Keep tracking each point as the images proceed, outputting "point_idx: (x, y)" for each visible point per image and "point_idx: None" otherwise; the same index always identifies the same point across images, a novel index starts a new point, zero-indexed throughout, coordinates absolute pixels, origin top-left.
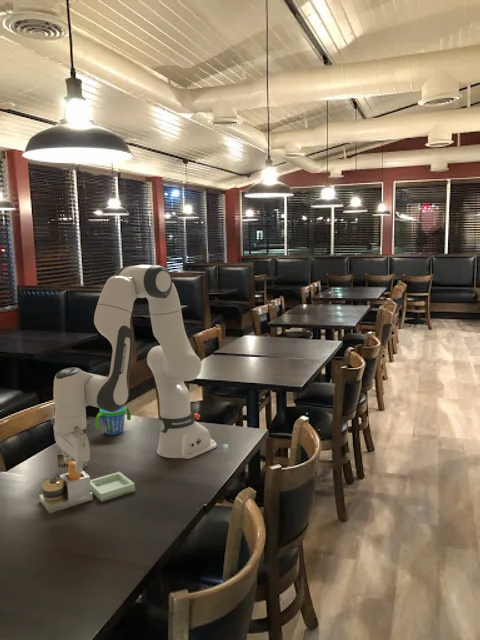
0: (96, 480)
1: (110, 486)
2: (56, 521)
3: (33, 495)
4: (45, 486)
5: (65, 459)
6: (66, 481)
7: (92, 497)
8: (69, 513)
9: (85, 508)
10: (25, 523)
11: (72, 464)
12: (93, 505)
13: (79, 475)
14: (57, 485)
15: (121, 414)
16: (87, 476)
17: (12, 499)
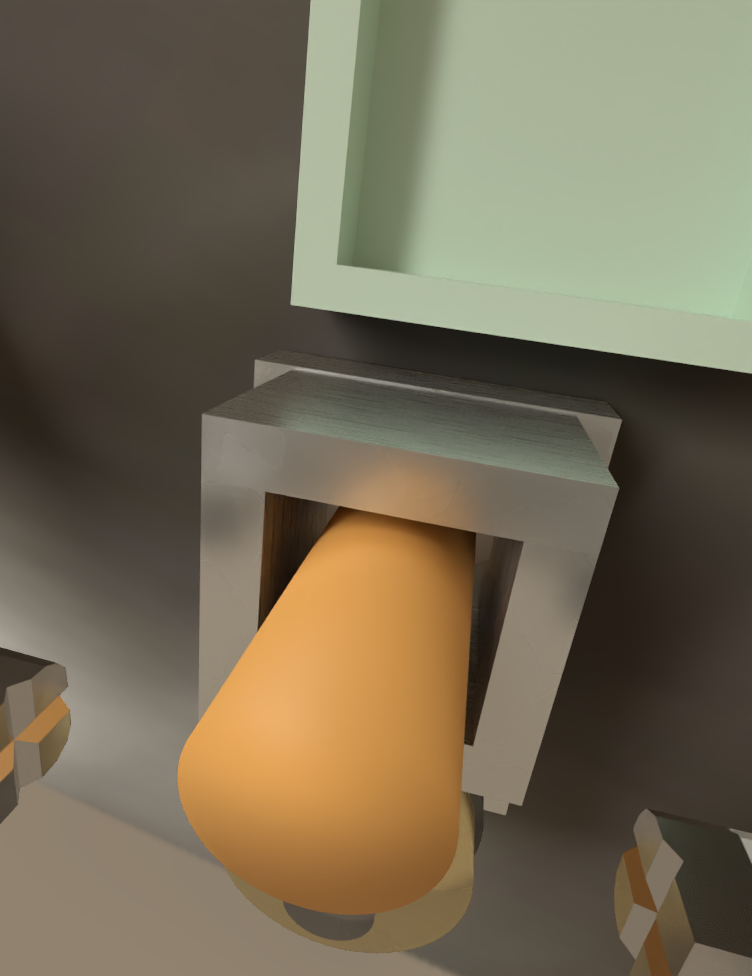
0: (346, 181)
1: (551, 56)
2: (676, 803)
3: (130, 679)
4: (382, 948)
5: (11, 808)
6: (462, 785)
7: (610, 409)
8: (652, 685)
9: (706, 553)
10: (501, 905)
11: (352, 862)
12: (729, 467)
13: (461, 608)
14: (471, 886)
15: None
16: (571, 513)
17: (104, 781)
